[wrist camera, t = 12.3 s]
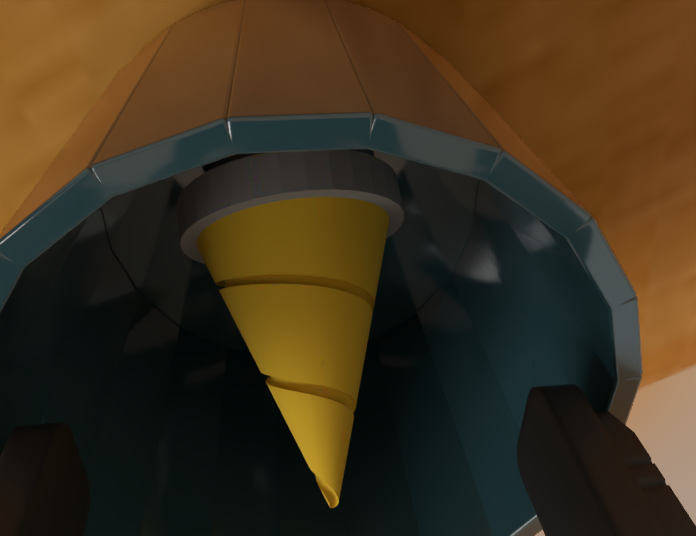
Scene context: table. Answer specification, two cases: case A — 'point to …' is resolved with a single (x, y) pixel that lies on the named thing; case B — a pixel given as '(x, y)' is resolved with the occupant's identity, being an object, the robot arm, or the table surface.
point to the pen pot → (389, 308)
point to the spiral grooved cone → (299, 278)
